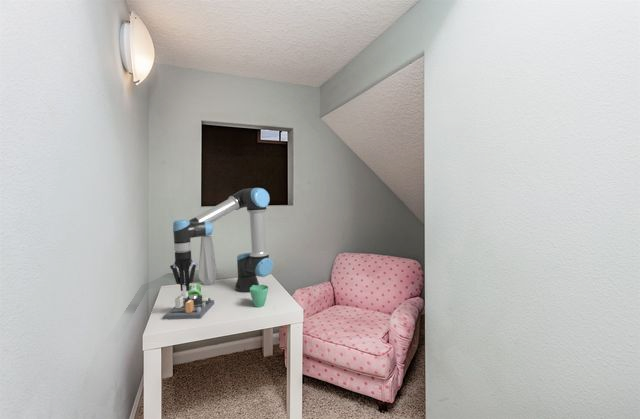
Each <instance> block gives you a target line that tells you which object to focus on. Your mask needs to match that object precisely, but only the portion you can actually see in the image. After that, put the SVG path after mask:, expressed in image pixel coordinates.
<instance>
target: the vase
mask: <svg viewBox="0 0 640 419" xmlns="http://www.w3.org/2000/svg"><path fill="white" fill-rule="evenodd" d="M199 246H200V249H199V262H198V279H199V281H200V282H201V284H202V285H203V286H209V285H213V284H214V283H215V281H216V279H217V278H218V271H217V270H218V269H217V263H216V256H215V249H214V244H213V236H212V235H208V236H202V237H200V245H199Z"/></svg>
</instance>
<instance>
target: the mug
mask: <svg viewBox="0 0 640 419" xmlns="http://www.w3.org/2000/svg"><path fill="white" fill-rule="evenodd" d="M268 291H269V286H268V285H265V284H259V285H252V287H250V292H249V293H250V297H251V300H252V303H253V305H254V307H256V308H262V307H264V306H265V304H266V301H267V296H268Z"/></svg>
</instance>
